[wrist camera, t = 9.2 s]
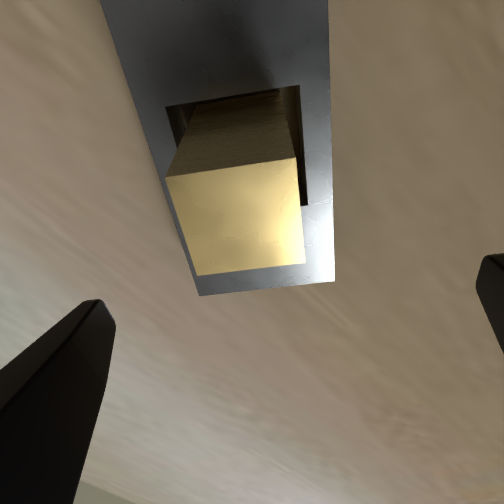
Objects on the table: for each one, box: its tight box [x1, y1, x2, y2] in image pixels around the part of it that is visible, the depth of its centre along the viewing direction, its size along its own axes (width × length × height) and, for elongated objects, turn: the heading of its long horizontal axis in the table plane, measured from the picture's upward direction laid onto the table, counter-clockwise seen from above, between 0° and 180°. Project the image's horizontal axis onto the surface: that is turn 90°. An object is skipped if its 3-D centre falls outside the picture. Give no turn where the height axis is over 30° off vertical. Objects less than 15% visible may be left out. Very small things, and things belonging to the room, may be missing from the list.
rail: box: [100, 0, 335, 296], centre depth 14 cm, size 8×28×2 cm, turn 9°
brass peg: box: [165, 91, 305, 276], centre depth 15 cm, size 4×4×8 cm
